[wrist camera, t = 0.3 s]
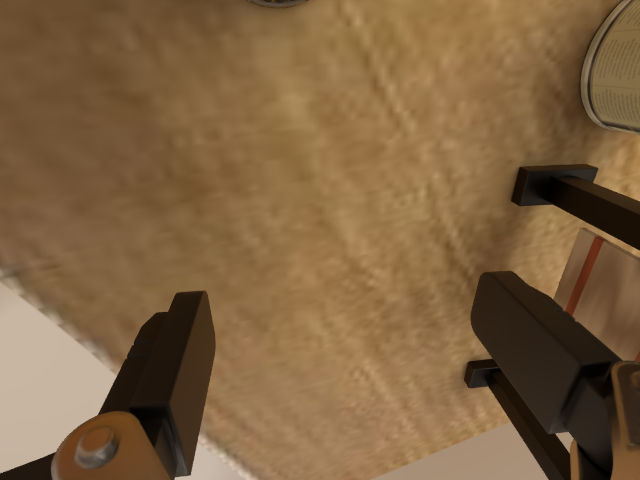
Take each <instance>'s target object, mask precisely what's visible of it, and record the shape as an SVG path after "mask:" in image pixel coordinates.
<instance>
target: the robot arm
mask: <svg viewBox="0 0 640 480" xmlns="http://www.w3.org/2000/svg"><path fill="white" fill-rule="evenodd" d="M248 1H250V2H253V3H255V4H258V5H261V6H266V7H273V8H284V7H291V6H295V5H298V4H301V3H304V2H306V1H308V0H248ZM471 325H472V328H473V331H474V333H475V334H476V336H477V337H478V339H479V340H480V341H481V343H482V344H483V345H484V347H485V348H486V350H487V351H488V352H489V354H490V355H491V357H492V358H493V359H494V361H495V362H496V363H497V365H498V366H499V368H500V369H501V370H502V372H503V373H504V374H505V376H506V377H507V379H508V380H509V381H510V383H511V384H512V385H513V387H514V388H515V390H516V391H517V392H518V394H519V395H520V396H521V398H522V399H523V401H524V402H525V403H526V405H527V406H528V407H529V409H530V410H531V412H532V413H533V414H534V416H535V417H536V418H537V420H538V421H539V423H540V424H541V425H542V427H543V428H544V429H545V431H546V432H547V434H554V433H562V432H569V433H570V434H571V435H572V437H573V438H574V439H573V441H572V443H571V446H570V464H571V480H640V362H637V361H629V360H626V361H623V360H622V359H621V358H620V357H618V356H617V355H616V354H615V353H614V352H613V351H612V350H610V349H609V348H608V347H607V346H606V345H605V344H604V343H602V342H601V341H600V340H599V339H598V338H597V337H595V336H594V335H593V334H592V333H591V332H590V331H589V330H587V329H586V328H585V327H584V326H583V325H582V324H580V323H579V322H576V321H575V318H574V317H572V316H571V315H570V314H569V313H568V312H567V311H563V308H562V307H561V306H560V305H559V304H557V303H556V302H555V301H554V300H553V299H552V298H551V297H549V296H548V295H546V294H544V293H542V292H540V291H539V290H537V289H535V288H533V287H531V286H529V285H528V284H526V283H525V282H524V281H523V280H522V279H521V278H520V277H519V276H518V275H516V274H515V273H514V272H512V271H496V272H485V273H483V274H482V275H481V276H480V279H479V282H478V286H477V290H476V294H475V298H474V302H473V306H472V310H471ZM214 356H215V332H214V326H213V321H212V315H211V310H210V305H209V299H208V295H207V292H206V291H192V292H178V293H176V294H175V296H174V299H173V301H172V304H171V306H170V308H169V311H168V312H159V313H156V314H154V315H153V316H152V317H151V318H150V319H149V320H148V321H147V322H146V323H145V324H144V325H143V326H142V327H141V329H140V331H139V333H138V335H137V337H136V339H135V341H134V345H132V347H131V349H130V351H129V353H128V355H127V359H125V361H124V363H123V365H122V367H121V369H120V371H119V373H118V375H117V377H116V379H115V381H114V383H113V385H112V387H111V389H110V392H109V394H108V396H107V398H106V400H105V402H104V404H103V406H102V408H101V410H100V412H99V414H98V415H97V416H95V417H93V418H91V419H89V420H88V421H86V422H84V423H83V424H81V425H80V426H79V427H77V428H76V429H75V430H73V432H71V433H70V434H69V435H68V436H67V437H66V438H65V440H64V441H63V442H62V443H61V445H60V446H59V448H58V449H57V451H56V452H55V453H52V454H50V455H48V456H45V457H43V458H40V459H38V460H35V461H32V462H30V463H27V464H25V465H22V466H19V467H16V468H14V469H11V470H9V471H6V472H3V473H0V480H174V478H175V477H180V476H189V475H191V471H192V466H193V461H194V456H195V451H196V445H197V441H198V436H199V431H200V426H201V421H202V416H203V411H204V406H205V401H206V396H207V391H208V386H209V381H210V376H211V371H212V366H213V361H214Z"/></svg>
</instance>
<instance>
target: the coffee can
mask: <svg viewBox="0 0 640 480" xmlns="http://www.w3.org/2000/svg"><path fill="white" fill-rule="evenodd" d="M581 99H582V102H583V105H584V107H585V110H586V112H587V114H588V116H589V117H590V118H591V119H592V120H593V121H594V122H595V123H596V124H597V125H599V126H601V127H602V128H605V129H607V130H612V131H623V132H628V133H633V134H637V135H640V0H623V1H622V2H621V3H620V4H619V5H618V6H617V7H616V8H615V9H614V10H613V11H612V13H611V14H610V15H609V16H608V17H607V19H606V20H605V21H604V23H603V24H602V26H601V27H600V28H599V30H598V32H597V33H596V35H595V37H594V38H593V40H592V42H591V44H590V47H589V50H588V53H587V55H586V57H585V60H584V64H583V68H582V74H581Z"/></svg>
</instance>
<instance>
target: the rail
mask: <svg viewBox="0 0 640 480" xmlns="http://www.w3.org/2000/svg"><path fill="white" fill-rule="evenodd" d="M597 171H598V168H596V167H593V166H590V165H588V164H583V165H559V166H535V167H520V169H519V173H518V177H517V181H516V184H515V188H514V192H513V196H512V200H511V201H512V202H513V203H515V204H517V205H518V206H533V205H551V204H553V205H555V206H557V207H559V208H561V209H563V210H565V211H566V212H568V213H570V214H572V215H574V216H576V217H578V218H580V219H581V220H583V221H585V222H587V223H589V224H591V225H593V226H595V227H597V228H598V229H600V230H602V231H604V232H606V233H608V234H610V235H612V236H613V237H615V238H617V239H619V240H621V241H623V242H625V243H627V244H629V245H630V246H632V247H634V248H636V249H638V250H640V201H637V200H634V199H632V198H629V197H627V196H624V195H622V194H619V193H617V192H614V191H612V190H609V189H607V188H604V187H602V186H599V185H597V184H594V183H593V181H594V179H595V176H596V173H597ZM464 381H465V383H466V384H467V386H468V388H477V387H487V386H488V387H489V388H490V390H491V391H492V393H493V394H494V396H495V397H496V399H497V400H498V402H499V404H500V405H501V407H502V408H503V410H504V411H505V413H506V414H507V416H508V417H509V419H510V420H511V422H512V424H513V425H514V427H515V428H516V430H517V431H518V433H519V434H520V436H521V437H522V439H523V441H524V442H525V444H526V445H527V447H528V448H529V450H530V451H531V453H532V454H533V456H534V457H535V459H536V460H537V462H538V464H539V465H540V467H541V468H542V470H543V471H544V473H545V475H546V476H547V477H548V479H549V480H571V464H570V453H569V452H568V451H567V449H566V448H565V446H564V445H563V444H562V442H561V441H560V440H559V438H558V437H557V436H556V434H555V433H554V434H547V432H546V431H545V429H544V428H543V427H542V425H541V424H540V423H539V421H538V420H537V418H536V417H535V416H534V414H533V413H532V412H531V410H530V409H529V407H528V406H527V405H526V403H525V402H524V401H523V399H522V398H521V396H520V395H519V394H518V392H517V391H516V390H515V388H514V387H513V385H512V384H511V383H510V381H509V380H508V379H507V377H506V376H505V374H504V373H503V372H502V370H501V369H500V368H499V366H498V365H497V363H496V362H495V361H494V359H490V360H480V361H469V363H468V367H467V370H466V374H465V378H464Z"/></svg>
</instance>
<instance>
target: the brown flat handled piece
mask: <svg viewBox="0 0 640 480" xmlns="http://www.w3.org/2000/svg"><path fill="white" fill-rule="evenodd" d="M553 300H554V301H555V302H556V303H557V304H559V305H560V306H561V307H562V308H563V311H567V312H568V313H569V314H570V315H571V316H572V317H574V318H575V321H576V322H579V323H580V324H582V325H583V326H584V327H585V328H586V329H587V330H589V331H590V332H591V333H592V334H593V335H594V336H595V337H597V338H598V339H599V340H600V341H601V342H602V343H604V344H605V345H606V346H607V347H608V348H609V349H610V350H612V351H613V352H614V353H615V354H616V355H617V356H618V357H620V358H621V359H622V360H623V361H626V360H629V361H637V362H640V258H639V257H637V256H635V255H633V254H631V253H630V252H628V251H626V250H624V249H622V248H621V247H619V246H617V245H615V244H613V243H612V242H610V241H608V240H606V239H605V238H603V237H601V236H599V235H597V234H595V233H593V232H592V231H590V230H588V229H586V228H580V230H579V233H578V235H577V238H576V240H575V243H574V246H573V248H572V251H571V254H570V256H569V259H568V262H567V264H566V267H565V270H564V272H563V275H562V278H561V280H560V283H559V286H558V288H557V291H556V294H555V296H554V299H553Z"/></svg>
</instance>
